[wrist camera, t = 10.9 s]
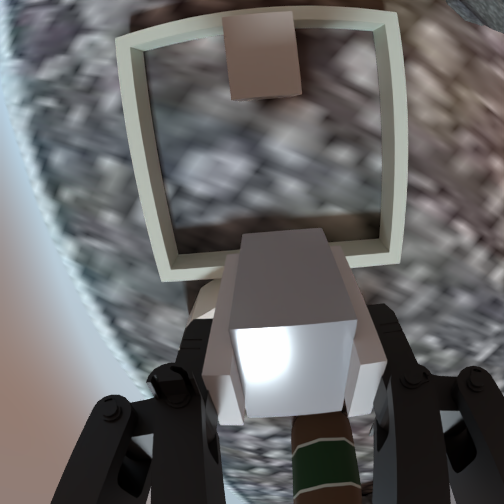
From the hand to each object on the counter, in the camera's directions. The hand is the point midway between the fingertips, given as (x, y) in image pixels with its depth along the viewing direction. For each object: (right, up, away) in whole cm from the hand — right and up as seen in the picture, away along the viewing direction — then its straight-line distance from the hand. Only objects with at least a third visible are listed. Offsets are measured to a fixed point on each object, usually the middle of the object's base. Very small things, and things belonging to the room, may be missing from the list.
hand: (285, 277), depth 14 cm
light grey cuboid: (0, 0, +1) cm, 1 cm away
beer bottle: (+7, -21, +22) cm, 31 cm away
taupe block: (-1, +13, +4) cm, 14 cm away
